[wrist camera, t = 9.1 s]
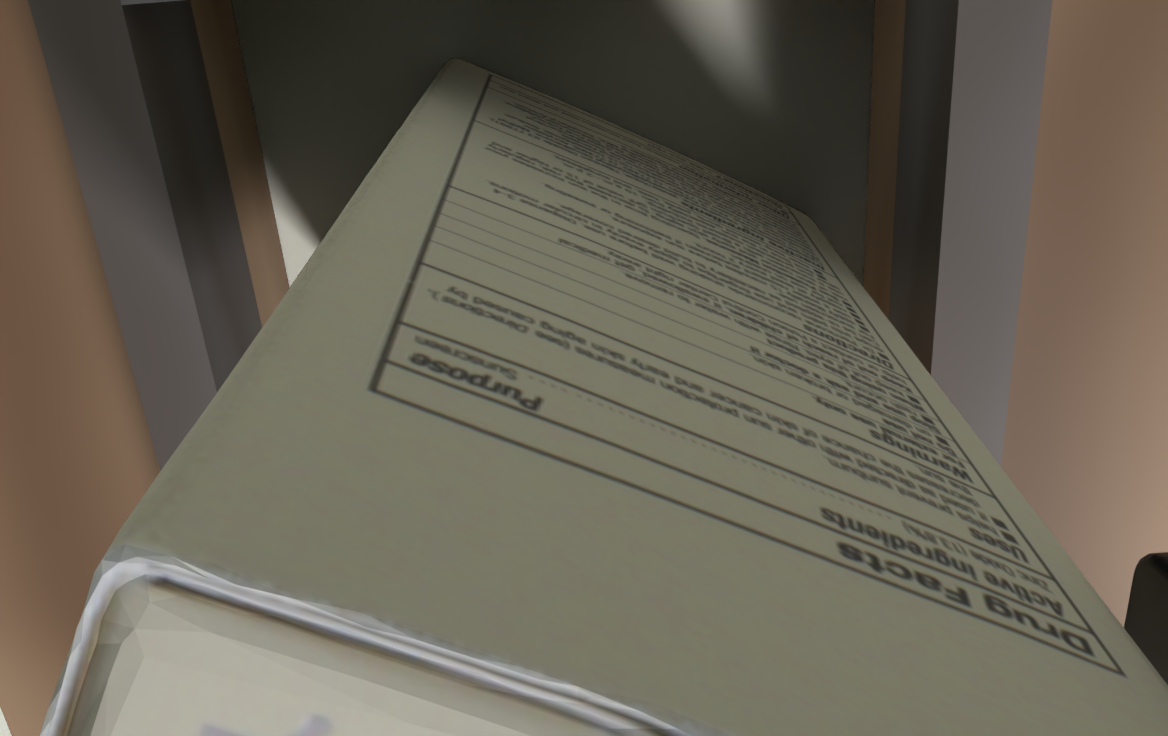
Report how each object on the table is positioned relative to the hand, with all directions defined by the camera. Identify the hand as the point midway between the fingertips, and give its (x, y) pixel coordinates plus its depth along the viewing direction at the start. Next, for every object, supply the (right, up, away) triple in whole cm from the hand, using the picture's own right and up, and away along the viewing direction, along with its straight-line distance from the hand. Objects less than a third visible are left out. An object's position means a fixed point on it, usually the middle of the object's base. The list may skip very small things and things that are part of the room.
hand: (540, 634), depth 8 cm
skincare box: (0, +4, +8) cm, 9 cm away
